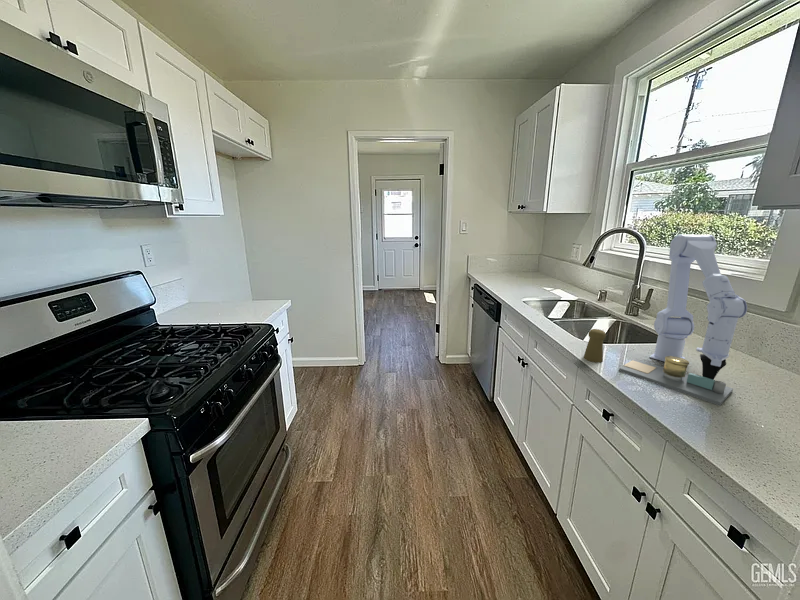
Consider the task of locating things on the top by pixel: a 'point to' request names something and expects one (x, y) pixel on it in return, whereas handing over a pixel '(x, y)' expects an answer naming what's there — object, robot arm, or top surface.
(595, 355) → the pepper shaker
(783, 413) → the top surface
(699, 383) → the lock lever
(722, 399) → the post board
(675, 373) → the cap
